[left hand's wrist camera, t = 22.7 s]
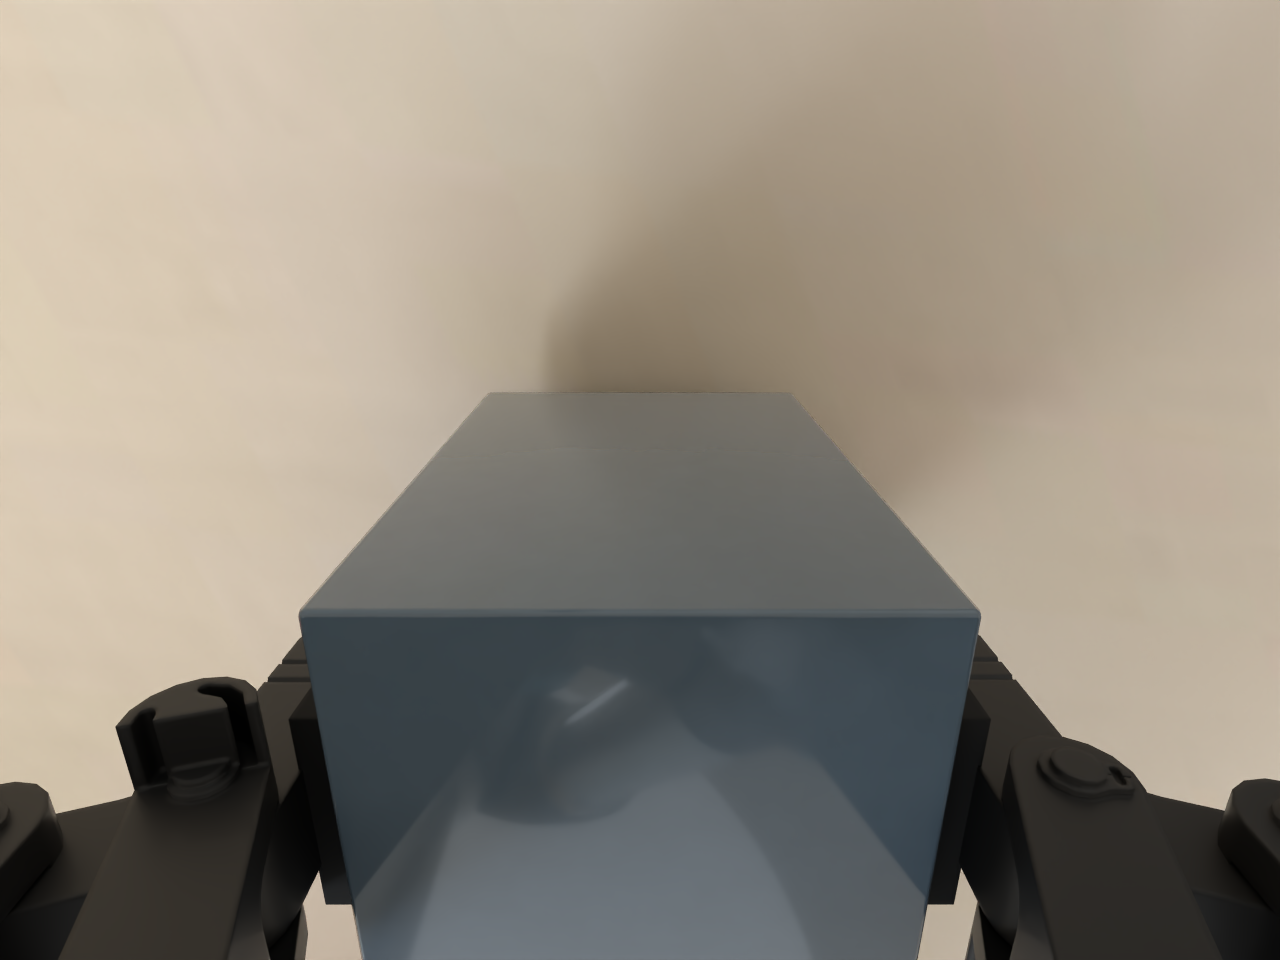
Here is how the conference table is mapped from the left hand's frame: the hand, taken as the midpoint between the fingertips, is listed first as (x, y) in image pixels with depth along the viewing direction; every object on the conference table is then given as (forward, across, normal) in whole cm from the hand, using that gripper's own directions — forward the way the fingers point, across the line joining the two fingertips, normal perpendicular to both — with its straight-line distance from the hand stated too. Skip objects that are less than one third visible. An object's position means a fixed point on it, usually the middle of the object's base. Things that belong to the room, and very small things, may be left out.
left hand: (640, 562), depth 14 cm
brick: (+1, 0, 0) cm, 1 cm away
